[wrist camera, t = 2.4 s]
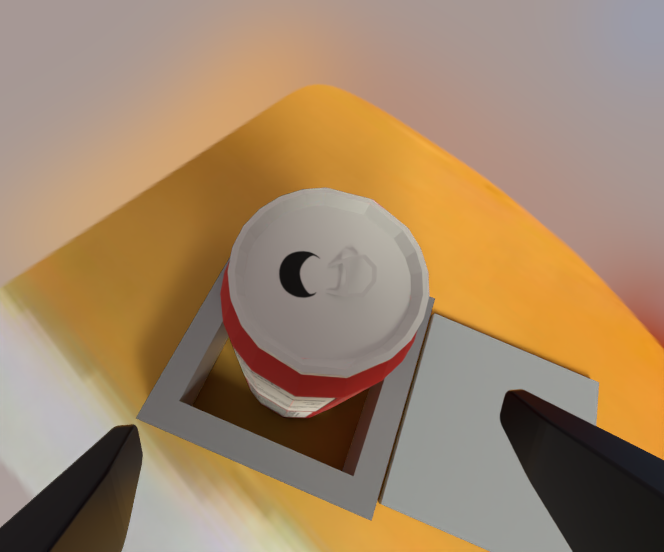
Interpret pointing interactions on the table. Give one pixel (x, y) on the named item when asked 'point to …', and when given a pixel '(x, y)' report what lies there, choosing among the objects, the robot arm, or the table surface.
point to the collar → (265, 455)
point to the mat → (476, 440)
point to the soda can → (321, 299)
